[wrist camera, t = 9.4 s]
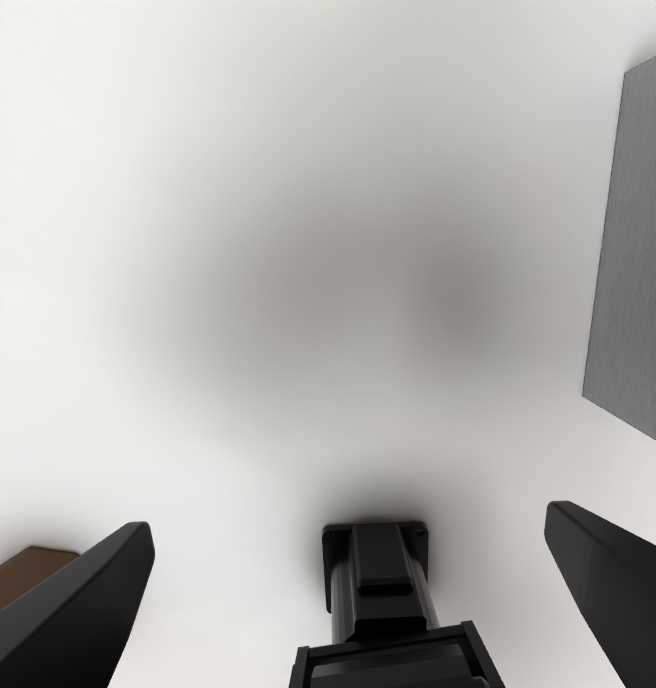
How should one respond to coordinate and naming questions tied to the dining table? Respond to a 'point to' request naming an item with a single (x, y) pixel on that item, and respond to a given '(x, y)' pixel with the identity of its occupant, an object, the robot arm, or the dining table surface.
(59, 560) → the beer bottle
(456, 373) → the dining table surface
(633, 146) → the grey block with socket
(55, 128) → the dining table surface
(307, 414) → the dining table surface
